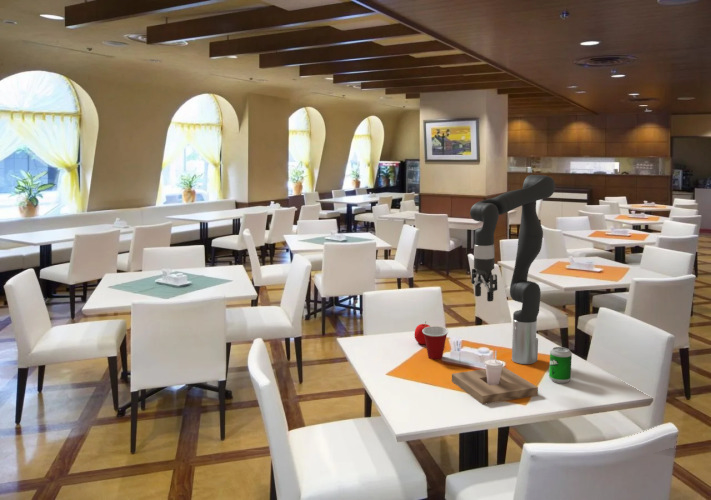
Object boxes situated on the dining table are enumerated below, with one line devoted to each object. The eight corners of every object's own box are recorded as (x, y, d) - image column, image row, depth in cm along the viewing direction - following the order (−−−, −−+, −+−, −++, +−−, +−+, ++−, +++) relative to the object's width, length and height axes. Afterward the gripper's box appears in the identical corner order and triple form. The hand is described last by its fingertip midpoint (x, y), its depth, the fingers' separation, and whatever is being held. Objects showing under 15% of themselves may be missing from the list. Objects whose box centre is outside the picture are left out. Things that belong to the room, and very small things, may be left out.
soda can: (570, 378, 224) (571, 347, 222) (570, 385, 217) (572, 353, 215) (549, 375, 226) (550, 345, 224) (548, 382, 219) (550, 351, 217)
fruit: (437, 345, 264) (437, 323, 262) (418, 347, 262) (418, 325, 260) (430, 339, 272) (430, 318, 271) (411, 341, 270) (411, 319, 269)
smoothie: (502, 392, 211) (503, 354, 209) (484, 390, 213) (485, 353, 210) (501, 385, 218) (503, 348, 215) (484, 384, 219) (484, 347, 217)
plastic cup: (418, 360, 245) (419, 332, 243) (425, 352, 255) (426, 325, 253) (444, 363, 241) (445, 334, 239) (450, 355, 251) (451, 327, 249)
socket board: (503, 373, 229) (503, 366, 228) (537, 395, 208) (538, 387, 208) (451, 381, 222) (451, 373, 221) (482, 404, 201) (482, 395, 201)
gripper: (503, 258, 217) (503, 301, 219) (482, 252, 230) (482, 293, 233) (485, 260, 214) (485, 304, 217) (465, 254, 227) (465, 295, 230)
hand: (483, 298), depth 225 cm, fingers open, 8 cm apart
